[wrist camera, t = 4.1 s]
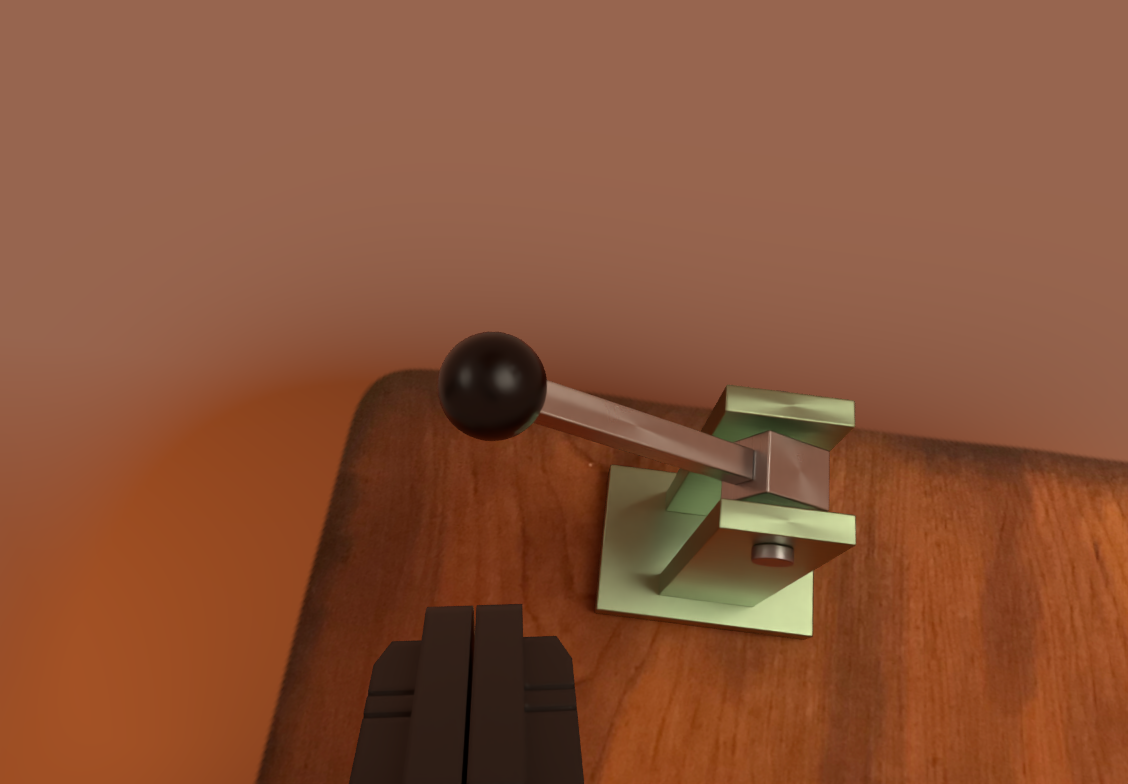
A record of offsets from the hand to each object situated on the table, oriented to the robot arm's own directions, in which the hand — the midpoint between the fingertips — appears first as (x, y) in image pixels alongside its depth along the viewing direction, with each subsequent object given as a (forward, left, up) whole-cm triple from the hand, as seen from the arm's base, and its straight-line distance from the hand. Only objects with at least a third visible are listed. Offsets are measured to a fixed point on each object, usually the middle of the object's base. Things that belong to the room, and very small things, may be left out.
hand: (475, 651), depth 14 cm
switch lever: (-1, +9, -14) cm, 16 cm away
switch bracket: (+4, +11, -28) cm, 30 cm away
